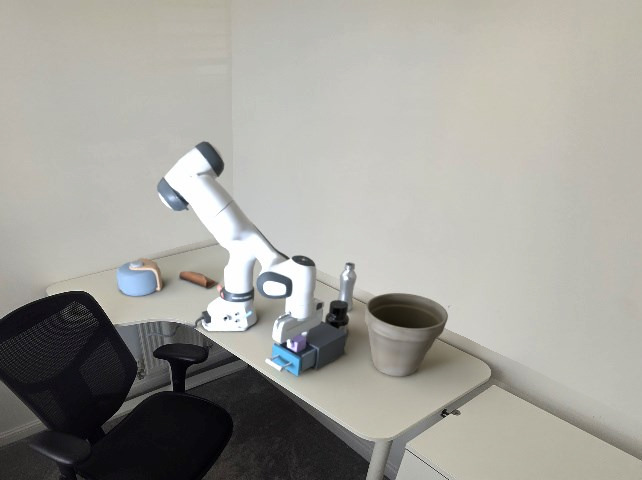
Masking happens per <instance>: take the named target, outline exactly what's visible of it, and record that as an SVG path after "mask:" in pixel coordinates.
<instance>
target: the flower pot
mask: <svg viewBox="0 0 642 480" xmlns="http://www.w3.org/2000/svg"><path fill="white" fill-rule="evenodd" d="M364 313H365V315H364V322H365V323H366V326H367V331H368V338H369V343H370V344H369V345H370V346H369V347H370V353H371V359H372V360H371V361H372V365H373V366H374V367H375V369H377V371H379V372H381V373H382V374H385V375H387V376H391V377H398V378H399V377H400V378H401V377H407V376H411V375H413V374H415V372H416V370H417V369H418V368H419V366H420V365H421V364H422V362H423V360H424V358H425V357H426V355H428V352H429V351H430V349H431V347H432V346H433V345H434V343H435V341H436V340H437V338H438V337H440V336H441V335H442V334H443V333H444V330H445V327H446V326H447V325H446V324H447V322H448V319H449V314H448V312H447V310H446V308H445V307H444V306H442V305H441V304H440V303H439V302H437V301H434V300H433V299H431V298H428V297H425V296H422V295H417V294H413V293H403V292H391V293H390V292H389V293H383V294H379V295H377V296H374V297H372V298H370V299H369V300H368V301H367V303H366V305H365V312H364Z"/></svg>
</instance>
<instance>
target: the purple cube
mask: <svg viewBox="0 0 642 480" xmlns="http://www.w3.org/2000/svg"><path fill="white" fill-rule="evenodd" d="M291 341H292V342H294V347H292V348H289V347H288V346H287V348H289V349H291V350H292V351H294V352H296V353H297V352H299V351H301V350H303V349H305V348H306V338H305V337H303V336H301V335H297V336H295V337H293V339H292V340H291Z"/></svg>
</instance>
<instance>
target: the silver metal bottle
mask: <svg viewBox="0 0 642 480" xmlns="http://www.w3.org/2000/svg"><path fill="white" fill-rule="evenodd" d="M355 267H356V264H355V263H354V262H350V261H349V262H346V263H345V264H344V270H343V271H341V273H340V275H339V292H338V298H337V300H342V301H345V302H347V303H348V310H347V312H349V311H351V309H352V308H353V306H354V289H355V285H356V281H357V273H356V271H355V269H356V268H355Z"/></svg>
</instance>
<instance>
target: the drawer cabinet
mask: <svg viewBox="0 0 642 480" xmlns="http://www.w3.org/2000/svg"><path fill="white" fill-rule="evenodd" d="M301 334H302V333H301ZM301 334H299V335H301ZM347 337H348V332H347V333H345V332H343V331H341V330H339V329H337V328H335V327H333V326H331V325H329V324H327V323H325V321H323V320H322V321H321V323H320V324H319V325H317V326H315V327H313V328H311V329H309V333H308V335H307V336H306V343H307V344H308V345H310V346H312V347H314V348H316V349H317V356H316V364H315V365H313V366H311V367H312V368H314V369H315V370H318V369H320V368H322V367H323V366H325V365H327V364H328V363H330V362H332V361H334V360H336V359H337V358H339V357H341V356H343V355H344V354H345V350H346V343H347Z"/></svg>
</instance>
